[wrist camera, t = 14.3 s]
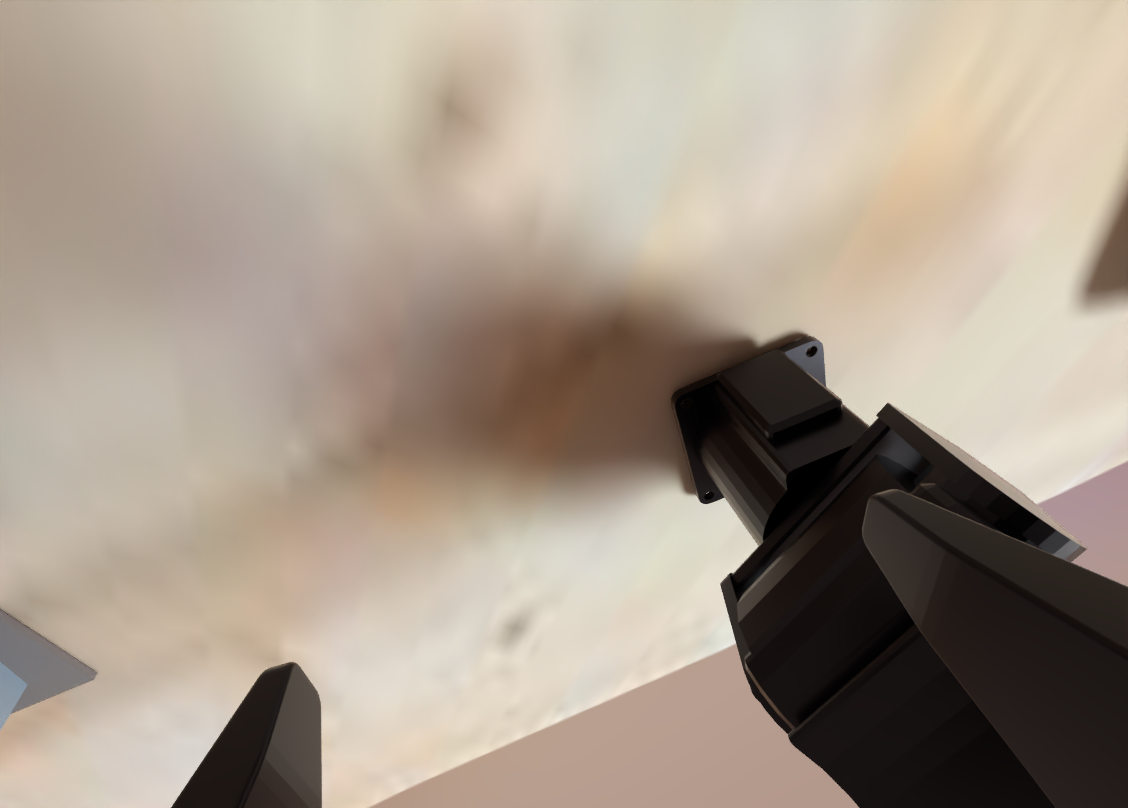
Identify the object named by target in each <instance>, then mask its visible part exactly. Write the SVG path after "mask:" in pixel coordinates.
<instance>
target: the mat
mask: <svg viewBox="0 0 1128 808" xmlns="http://www.w3.org/2000/svg"><path fill="white" fill-rule="evenodd" d="M0 662H1V663H2V664H4V665H5V666H6V667H7V668H8V669H10V670H11V671H12V672H13V673H14V674H16V675H17V676H18V677H19V678H20V679H22V680H23V681H24V682H25V683H27V684H28V685H27V687H26V688H25V690H24V692H23V693H22V695H21V697H20V698H19V700H18V702H17V703H16V705H15V707H14V708H13V710H12V712H11V713H10V714H12V713H14V712H16V711H19V710H21V709H24V708H26V707H28V706H31V705H33V704H36V703H38V702H41V701H43V700H45V699H48V698H50V697H53V696H55V695H57V694H60V693H62V692H65V691H67V690H69V689H72V688H74V687H77V686H79V685H82V684H84V683H86V682H89V681H91V680H94V678H95V676H96V674H97V672H95V671H94V670H92V669H90V668H89V667H87V666H86V665H84V664H83V663H81V662H80V661H78V660H77V659H75V658H74V657H72V656H71V655H69V654H68V653H66V652H64V651H63V650H61V649H60V648H58V647H57V646H55V645H54V644H52V643H51V642H49V641H48V640H46V639H45V638H43V637H41V636H40V635H38V634H37V633H35V632H34V631H32V630H31V629H29V628H28V627H26V626H25V625H23V624H22V623H20V622H19V621H17V620H15V619H14V618H12V617H11V616H9V615H8V614H6V613H5V612H3V611H2V610H0Z"/></svg>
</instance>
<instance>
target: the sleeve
mask: <svg viewBox="0 0 1128 808" xmlns="http://www.w3.org/2000/svg"><path fill="white" fill-rule="evenodd" d="M27 685H28V684H27V683H25V682H24V681H23V680H22V679H20V678H19V677H18V676H17V675H16V674H14V673H13V672H12V671H11V670H10V669H8V668H7V667H6V666H5V665H4V664H2V663H1V662H0V730H1V728H2V727H3V725H4V723H5V722H6V720H7V718H8V717H9V715H10V713H11V712H12V710H13V708H14V707H15V705H16V703H17V702H18V700H19V698H20V697H21V695H22V693H23V692H24V690H25V688H26V687H27Z"/></svg>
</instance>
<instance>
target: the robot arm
mask: <svg viewBox="0 0 1128 808" xmlns="http://www.w3.org/2000/svg"><path fill="white" fill-rule="evenodd" d="M811 346H812V347H811ZM810 347H811V349H810V351H808V352H807V353H806V351H807V350H808V348H810ZM686 398H688V400H687V402H685V403H683V404H681V402H682V400H684V399H686ZM671 404H672V408H673V411H674V415H675V419H676V423H677V426H678V430H679V434H680V437H681V441H682V445H683V449H684V452H685V456H686V460H687V464H688V467H689V471H690V475H691V479H692V482H693V486H694V490H695V494H696V496H697V497H698V499H699V500H700V502H701V503H703V504H709V503H712V502H715V501H717V500H720V499H722V498H724V497H725V499H726V500H727V501H728V503H729V504H730V506H731V507H732V509H733V510H734V511H735V513H736V514H737V516H738V517H739V519H740V520H741V521H742V523H743V524H744V526H745V527H746V529H747V530H748V531H749V533H750V534H751V536H752V537H753V539H754V540H755V541H756V543H757V544H758V547H757V549H756V550H755V551H754V552H753V553H752V554H751V555H750V556H749V557H748V558H747V559H746V560H745V561H744V563H743V564H742V565H741V566H740V567H739V568H738V569H737V570H736V571H735V572H734V573H733V574H732V573H730V574H729V575H728V576H727V577H726V578H725V579H724V580H723V581H722V582H721V583H720V584H721V589H722V592H723V596H724V600H725V603H726V607H727V611H728V614H729V618H730V622H731V625H732V629H733V633H734V636H735V640H736V644H737V647H738V651H739V654H740V658H741V662H742V666H743V669H744V672H745V675H746V678H747V680H748V683H749V684H750V687H751V690H752V693H753V695H754V696H755V698H756V699H757V700H758V701H759V702H760V703H761V704H762V705H763V707H764V708H765V710H766V711H767V712H768V713H769V715H770V716H771V717H772V718H773V719H774V721H775V722H776V723H777V724H778V725H779V726H780V727H781V728H782V729H783V730H784V731H785V732H786V733H787V734H788V737H789V740H790V742H791V743H792V744H793V745H794V746H795V747H796V748H797V749H799V750H800V751H801V752H802V753H803V754H805V755H806V756H807V757H808V758H810V759H811V760H812V761H813V762H815V763H816V764H817V765H818V766H820V767H821V768H822V769H823V770H824V771H825V772H826V773H827V774H828V775H829V776H830V777H831V778H832V779H833V780H834V781H835V782H836V783H837V784H838V785H839V786H840V787H841V788H842V789H843V790H844V791H845V792H846V793H847V794H848V795H849V796H850V797H851V798H852V799H853V800H854V802H855V803H856V804H857V805H858V807H859V808H1128V586H1125V585H1123V584H1121V583H1118V582H1116V581H1114V580H1111V579H1109V578H1107V577H1104V576H1102V575H1099V574H1097V573H1094V572H1092V571H1090V570H1088V569H1085V568H1083V567H1081V566H1078V565H1076V564H1074V563H1071V562H1072V561H1073V560H1074V559H1075V558H1077V557H1078V556H1079V555H1080V554H1082V553H1083V552H1084V551H1085V550H1086V549H1087V547H1085V546H1084V545H1083V544H1082V543H1081V542H1080V541H1079V540H1077V539H1076V538H1075V537H1074V536H1073V535H1072V534H1070V533H1069V532H1068V531H1067V530H1066V529H1065V528H1063V527H1062V526H1061V525H1060V524H1059V523H1057V522H1056V521H1055V520H1054V519H1053V518H1052V517H1050V516H1049V515H1048V514H1047V513H1046V512H1045V511H1043V510H1042V509H1041V508H1040V507H1039V506H1037V505H1036V504H1035V503H1034V502H1033V501H1032V500H1031V499H1029V498H1028V497H1027V496H1026V495H1025V494H1023V493H1022V492H1021V491H1020V490H1018V489H1017V488H1016V487H1014V486H1013V485H1011V484H1010V483H1009V482H1007V481H1006V480H1004V479H1003V478H1002V477H1000V476H999V475H997V474H996V473H995V472H993V471H992V470H990V469H989V468H987V467H986V466H985V465H983V464H982V463H980V462H979V461H978V460H976V459H975V458H973V457H972V456H971V455H969V454H968V453H966V452H965V451H964V450H962V449H961V448H959V447H958V446H956V445H954V444H953V443H951V442H950V441H948V440H946V439H945V438H943V437H942V436H940V435H939V434H937V433H935V432H934V431H932V430H931V429H929V428H927V427H926V426H924V425H923V424H921V423H920V422H918V421H916V420H915V419H913V418H912V417H910V416H908V415H907V414H905V413H904V412H902V411H901V410H899V409H897V408H896V407H894V406H893V405H891V404H890V403H887V404H886V405H885V406H884V407H883V408H882V410H881V411H880V412H879V413H878V414H877V415H876V416H877V417H878V418H877V419H876V421H875V422H874V423H873V424H872V425H871V426H869V425H868V424H866V423H865V422H864V421H863V420H862V419H860V418H859V417H858V416H857V415H856V414H854V413H853V412H852V411H851V410H849V409H848V408H847V407H846V406H845V405H843V404H842V401H841V399H840V398H839V397H838V396H836V395H835V394H834V393H833V392H831V391H830V390H829V389H828V388H827V387H826V382H825V367H824V352H823V345H822V343H821V342H820V341H818V340H817V339H816V338H814V337H811V336H808V337H805V338H802V339H800V340H797V341H795V342H792V343H790V344H788V345H785V346H783V347H780V348H778V349H775V350H772V351H770V352H767V353H765V354H763V355H760V356H758V357H755V358H753V359H751V360H748V361H746V362H743V363H741V364H738V365H736V366H734V367H731V368H729V369H726V370H724V371H722V372H720V373H718V374H715V375H713V376H710V377H708V378H705V379H703V380H701V381H698V382H696V383H693V384H691V385H689V386H686V387H684V388H681V389H679V390H678V391H676V392H675V393H674V394H673V396H672V398H671ZM707 492H709V493H707ZM706 493H707V494H706ZM171 808H322V762H321V703H320V698H319V695H318V692H317V690H316V689H315V687H314V686H313V684H312V683H311V682H310V680H309V679H308V677H307V676H306V675H305V673H304V672H303V670H302V669H301V667H300V666H299V665H298V664H297V663H294V662H289V663H285V664H282V665H278V666H275V667H271V668H269V669H267V670H265V671H264V672H263V673H262V674H261V675H260V676H259V678H258V679H257V681H256V682H255V683H254V685H253V686H252V688H251V689H250V691H249V692H248V694H247V695H246V697H245V698H244V700H243V701H242V703H241V704H240V706H239V707H238V709H237V710H236V712H235V713H234V715H233V716H232V718H231V719H230V721H229V722H228V724H227V725H226V727H225V728H224V730H223V731H222V733H221V734H220V736H219V737H218V739H217V740H216V742H215V743H214V745H213V746H212V748H211V749H210V750H209V752H208V753H207V755H206V756H205V758H204V759H203V761H202V762H201V764H200V765H199V767H198V768H197V770H196V771H195V773H194V774H193V776H192V777H191V779H190V780H189V782H188V783H187V785H186V786H185V788H184V789H183V791H182V792H181V794H180V795H179V797H178V798H177V800H176V801H175V803H174V804H173V806H172V807H171Z"/></svg>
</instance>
